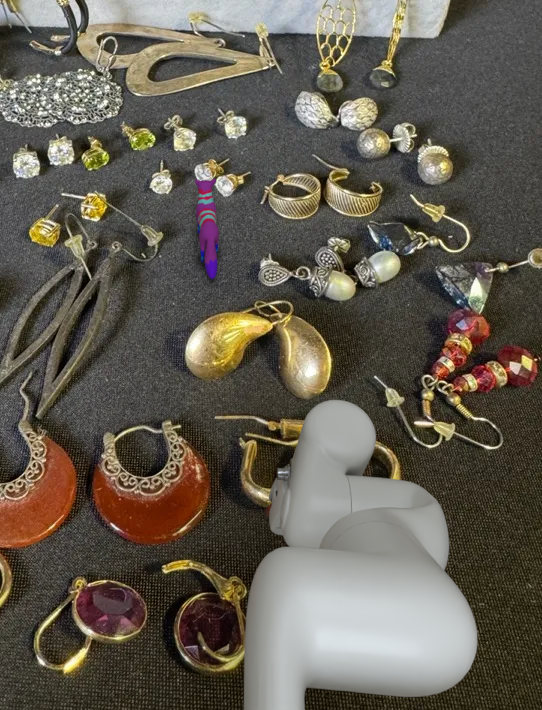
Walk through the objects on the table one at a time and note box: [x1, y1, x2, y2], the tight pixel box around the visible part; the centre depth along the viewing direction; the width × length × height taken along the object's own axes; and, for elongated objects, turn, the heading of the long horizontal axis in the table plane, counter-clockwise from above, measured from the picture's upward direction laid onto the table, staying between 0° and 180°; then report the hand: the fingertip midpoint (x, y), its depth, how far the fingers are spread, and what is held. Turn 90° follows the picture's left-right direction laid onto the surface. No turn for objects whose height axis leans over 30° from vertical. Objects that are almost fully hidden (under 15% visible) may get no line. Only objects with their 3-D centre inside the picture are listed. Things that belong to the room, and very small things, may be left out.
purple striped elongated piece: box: [194, 178, 220, 280], centre depth 140 cm, size 4×18×10 cm, turn 4°
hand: (300, 535), depth 105 cm, fingers closed
